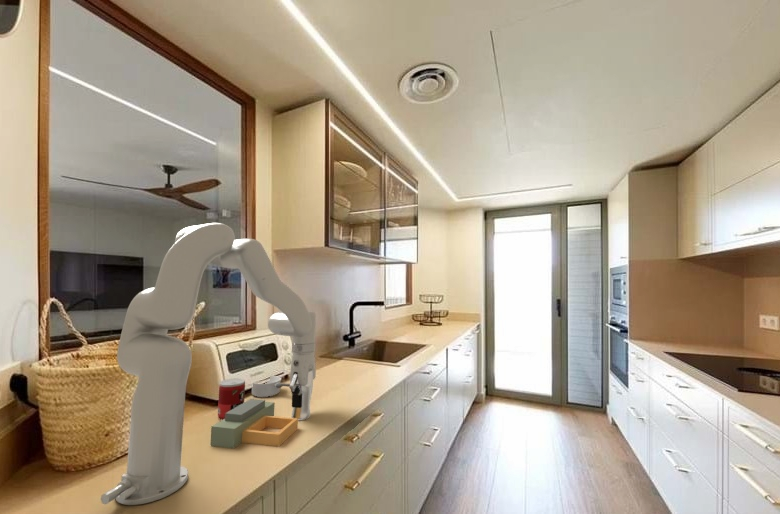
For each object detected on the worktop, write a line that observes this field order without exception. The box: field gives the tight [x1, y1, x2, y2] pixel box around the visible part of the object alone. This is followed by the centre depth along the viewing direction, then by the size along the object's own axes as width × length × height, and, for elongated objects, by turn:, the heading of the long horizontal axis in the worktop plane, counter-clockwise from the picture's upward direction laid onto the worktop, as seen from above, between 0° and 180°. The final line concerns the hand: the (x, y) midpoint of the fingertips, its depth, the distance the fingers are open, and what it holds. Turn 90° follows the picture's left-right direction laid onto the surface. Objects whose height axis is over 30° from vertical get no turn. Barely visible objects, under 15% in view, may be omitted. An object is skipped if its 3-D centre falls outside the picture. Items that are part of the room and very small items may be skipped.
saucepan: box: [251, 375, 291, 398], centre depth 128 cm, size 12×20×6 cm, turn 62°
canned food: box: [217, 377, 246, 420], centre depth 108 cm, size 8×8×11 cm
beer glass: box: [291, 370, 314, 421], centre depth 108 cm, size 7×7×15 cm
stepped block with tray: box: [209, 398, 299, 449], centre depth 96 cm, size 20×18×7 cm
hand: (301, 402), depth 108 cm, fingers closed on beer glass, 6 cm apart
